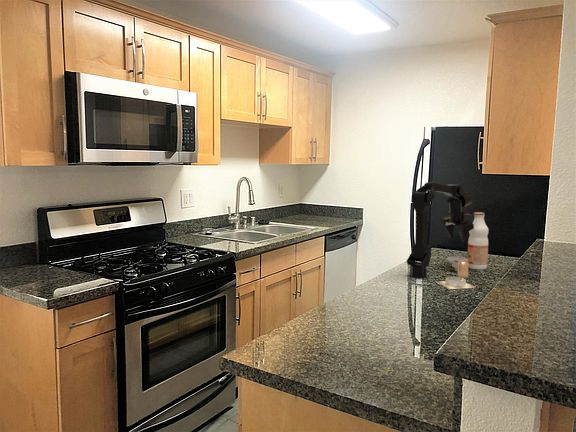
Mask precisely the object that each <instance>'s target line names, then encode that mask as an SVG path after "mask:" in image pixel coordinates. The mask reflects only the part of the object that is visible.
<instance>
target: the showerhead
mask: <svg viewBox="0 0 576 432" xmlns="http://www.w3.org/2000/svg"><path fill="white" fill-rule="evenodd" d="M458 261H467V262H468V257H465V256H461V255H460V254H458V255H455V256H454V255H450V256H447V262H450V263H451V267H453V268H454V271H455V272H458Z"/></svg>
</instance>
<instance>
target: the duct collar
mask: <svg viewBox="0 0 576 432" xmlns="http://www.w3.org/2000/svg"><path fill="white" fill-rule="evenodd" d="M466 283H467V278H461V277H458V276H446V277H445V284H446V285H448V286H452V287H464V286H465V285H466Z"/></svg>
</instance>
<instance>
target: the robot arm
mask: <svg viewBox="0 0 576 432" xmlns="http://www.w3.org/2000/svg"><path fill="white" fill-rule="evenodd" d="M436 192H437V193H443V194H444V195H445V196H447V197H448V198H447V200H446V203H447V204H448V206H449V211H447V214H448V215H449V216H446V217H444V218H443V217H442V218H441V220H440V224H441V225H442V227H444V230H445V231H446V233H447V234H448V236H449V237H450V238H451V239H454V235H455V233H454V229H455V228H454V227H455V226H457V228H458V233H459V235H460V238H461V243H466V240H467V237H468V234H469V231H470V230H472V229H474V224H473V221H474V214H473V215H472V214H469V213H466V211H464V210H463V208H465V207H467V206H469V205H470V204H472V203H473V198H472V196H471V194H469V192H468V191H465V188H463V186H462V185H461V184H451V183H450V184H444V183H438V182H435V181H434V182H433V181H427V182H425V183H424V185H423V186H421V187H419V188H417V189H416V190H415V191H414V192H413V194H412V195H411V205H412V208H413V210H414V211H415V234H414V235H415V239H414V240H415V242H414V244H413V246H412V247H411V252H410V255H409V256H408V258H407V259H406V264H407V265H408V266H409V277H411V279H424V278H427V273H428V272H427V267H429V265H430V261H431V258H432V246H431V245H429V244H428V242H427V240H428V238H427V237H428V236H427V235H428V211H429V209H430V208H431V207H432V202H433V200H434V198H435V196H436Z"/></svg>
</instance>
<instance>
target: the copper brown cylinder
mask: <svg viewBox="0 0 576 432" xmlns="http://www.w3.org/2000/svg"><path fill="white" fill-rule="evenodd" d="M468 265H469V262H467V261H458V271H457V277H461V278H464V279H468V278H469V267H468Z"/></svg>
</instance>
